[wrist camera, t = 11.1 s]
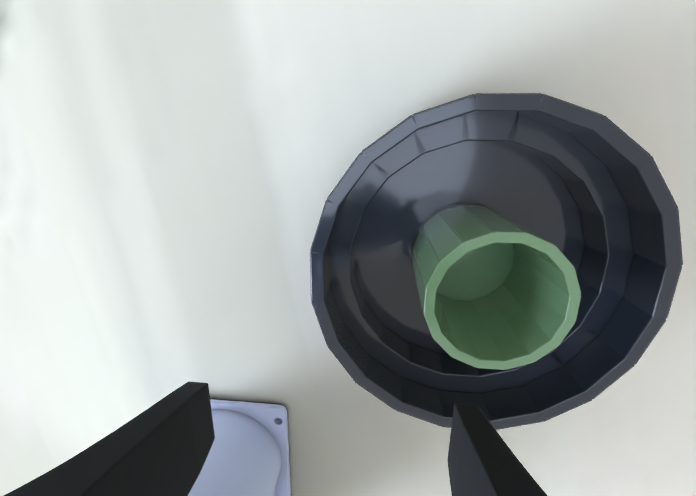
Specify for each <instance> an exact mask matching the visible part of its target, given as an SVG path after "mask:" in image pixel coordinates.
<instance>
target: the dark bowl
mask: <svg viewBox="0 0 696 496" xmlns="http://www.w3.org/2000/svg"><path fill="white" fill-rule="evenodd" d="M465 204H472V205H480V206H484V207H487V208H490V209H492V210H494V211H496V212H498V213H500V214H502V215H504V216H506V217H508V218H509V219H511V220H513V221H514V222H516V223H518V224H520V225H521V226H523V227H525V228H527V229H528V230H530V231H532V232H533V233H535V234H537V235H539V236H540V237H542V238H544V239H546V240H547V241H549V242H551V243H552V244H554V245H555V246H557V248H558V249H559V250H560V251H561V252H562V253H563V254H564V256H565V257H566V258H567V259H568V260H569V261H570V262H571V264H572V265H573V266H574V268H575V271H576V275H577V279H578V283H579V286H580V290H581V300H580V304H579V309H578V314H577V319H576V322H575V324H574V325H573V327H572V328H571V329H570V331H569V332H568V334H567V335H566V337H565V338H564V339H563V341H562V342H561V344H560V345H558V347H556V348H555V349H553V350H552V351H550V352H549V353H547V354H546V355H544V356H543V357H541V358H540V359H538V360H537V361H535V362H533V363H530V364H526V365H522V366H518V367H515V368H511V369H507V370H506V369H505V370H499V369H484V368H476V367H473V366H471V365H469V364H466V363H464V362H462V361H459V360H457V359H455V358H452V357H451V356H450V355H449V354H448V353H447V352H446V351H445V350H444V349H443V348H442V347H441V346H440V345H439V344H438V343H437V342H436V341H435V340H434V339H433V337H432V335H431V333H430V330H429V328H428V325H427V322H426V320H425V317H424V314H423V310H422V306H421V301H420V297H419V293H418V289H417V284H416V280H415V276H414V272H413V268H412V250H413V245H414V242H415V239H416V237H417V235H418V233H419V231H420V229H421V228H422V227H423V226H424V224H425V223H426V222H427V221H428V220H429V219H430V218H432V217H433V216H434V215H435V214H437V213H439V212H440V211H442V210H445V209H447V208H450V207H453V206H457V205H465ZM682 265H683V260H682V248H681V235H680V223H679V210H678V207H677V205H676V203H675V201H674V199H673V197H672V195H671V193H670V191H669V189H668V187H667V185H666V183H665V181H664V179H663V177H662V175H661V173H660V171H659V169H658V167H657V165H656V163H655V161H654V159H653V157H652V156H651V155H650V154H649V153H648V152H647V151H646V150H644V149H643V148H642V147H641V146H640V145H639V144H637V143H636V142H635V141H634V140H633V139H632V138H630V137H629V136H628V135H627V134H626V133H625V132H623V131H622V130H621V129H620V128H619V127H618V126H616V125H615V124H614V123H613V122H612V121H611V120H609V119H608V118H607V117H606V116H603V115H602V114H600V113H597V112H594V111H591V110H588V109H586V108H583V107H580V106H577V105H574V104H571V103H569V102H566V101H563V100H560V99H557V98H554V97H551V96H549V95H546V94H541V93H477V94H472V95H469V96H466V97H463V98H460V99H457V100H454V101H451V102H448V103H445V104H442V105H439V106H436V107H433V108H430V109H427V110H424V111H421V112H418V113H415V114H413V115H411V116H409V117H408V118H406V119H405V120H404V121H402V122H401V123H400V124H398V125H397V126H395V127H394V128H393V129H391V130H390V131H389V132H387V133H386V134H385V135H383V136H382V137H380V138H379V139H378V140H376V141H375V142H374V143H372V144H371V145H370V146H368V147H367V148H365V149H364V150H363V151H362V152H361V153H360V154H359V155H358V156H357V158H356V159H355V161H354V162H353V163H352V165H351V166H350V167H349V169H348V170H347V172H346V173H345V174H344V176H343V177H342V178H341V180H340V181H339V183H338V184H337V185H336V187H335V188H334V190H333V191H332V192H331V194H330V195H329V196H328V198H327V200H326V202H325V205H324V208H323V211H322V215H321V218H320V221H319V224H318V227H317V230H316V234H315V237H314V240H313V243H312V246H311V251H310V272H311V300H312V301H311V302H312V305H313V308H314V311H315V313H316V316H317V319H318V322H319V324H320V327H321V330H322V333H323V335H324V338H325V341H326V344H327V346H328V348H329V349H330V350H331V351H332V353H333V354H334V355H335V357H336V358H337V359H338V360H339V362H340V363H341V364H342V365H343V367H344V368H345V369H346V371H347V372H348V373H349V374H350V376H351V377H352V378H353V380H354V381H355V382H356V383H357V384H358V385H360V386H361V387H363V388H364V389H365V390H367V391H368V392H370V393H371V394H373V395H374V396H375V397H377V398H378V399H380V400H381V401H383V402H384V403H385V404H387V405H388V406H390V407H391V408H393V409H394V410H396V411H398V412H401V413H404V414H407V415H410V416H413V417H416V418H418V419H421V420H424V421H427V422H430V423H433V424H436V425H438V426H442V427H451V428H452V419H453V410H454V403H459V404H472V405H477V406H478V407H479V408H480V409H481V410H482V412H483V413H484V415H485V416H486V417H487V419H488V420H489V422H490V423H491V424H492V426H493V427H494V429H495V430H498V429H504V428H510V427H516V426H521V425H527V424H533V423H539V422H542V421H543V422H544V421H547V420H549V419H551V418H553V417H556V416H558V415H560V414H562V413H565V412H567V411H569V410H571V409H574V408H576V407H578V406H580V405H583V404H585V403H587V402H589V401H592V399H594V398H595V397H597V396H598V395H599V394H600V393H602V392H603V391H604V390H605V389H606V388H608V387H609V386H610V385H611V384H613V383H614V382H615V381H616V380H618V379H619V378H620V377H621V376H622V375H624V374H625V373H626V372H627V371H629V370H630V369H631V368H632V367H634V364H636V363H637V362H638V360H639V359H640V358H641V356H642V355H643V353H644V352H645V350H646V349H647V347H648V346H649V345H650V343H651V342H652V340H653V339H654V337H655V336H656V334H657V333H658V331H659V330H660V329H661V327H662V326H663V324H664V323H665V321H666V319H667V317H668V314H669V310H670V307H671V303H672V300H673V297H674V293H675V290H676V286H677V283H678V279H679V276H680V272H681V269H682Z"/></svg>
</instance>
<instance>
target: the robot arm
mask: <svg viewBox="0 0 696 496" xmlns="http://www.w3.org/2000/svg"><path fill="white" fill-rule="evenodd" d="M277 418H280V419H281V420H278V419H277ZM448 468H449V476H450V484H451V491H452V496H547V495H546V493H545V492H544V491H543V490H542V489H541V487H540V486H539V485H538V484H537V483H536V481H535V480H534V479H533V478H532V476H531V475H530V474H529V473H528V472H527V470H526V469H525V468H524V467H523V465H522V464H521V463H520V462H519V460H518V459H517V458H516V456H515V455H514V454H513V453H512V451H511V450H510V449H509V447H508V446H507V445H506V443H505V442H504V441H503V439H502V438H501V437H500V435H499V434H498V433H497V431H496V430H495V429H494V427H493V426H492V424H491V423H490V422H489V420H488V419H487V417H486V416H485V415H484V413H483V412H482V410H481V409H480V408H479V407H478V406H477V405H472V404H459V403H454V410H453V419H452V428H451V436H450V445H449V453H448ZM4 496H291V487H290V465H289V444H288V422H287V410H286V408H285V407H284V406H282V405H278V404H265V403H252V402H239V401H226V400H213V399H210V395H209V388H208V383H198V382H188V383H186V384H184V385H183V386H181V387H179V388H178V389H176V390H175V391H173V392H172V393H170V394H169V395H167V396H166V397H165V398H163V399H162V400H160V401H159V402H157V403H156V404H154V405H153V406H151V407H150V408H148V409H147V410H146V411H144V412H143V413H141V414H140V415H138V416H137V417H135V418H134V419H132V420H131V421H129V422H128V423H126V424H125V425H123V426H122V427H120V428H119V429H117V430H116V431H114V432H113V433H111V434H109V435H108V436H106V437H105V438H103V439H101V440H100V441H98V442H97V443H95V444H94V445H92V446H90V447H89V448H87V449H86V450H84V451H82V452H81V453H79V454H78V455H76V456H74V457H73V458H71V459H69V460H68V461H66V462H64V463H63V464H61V465H59V466H57V467H56V468H54V469H52V470H51V471H49V472H47V473H45V474H43V475H42V476H40V477H38V478H36V479H34V480H32V481H31V482H29V483H27V484H25V485H23V486H21V487H20V488H18V489H16V490H14V491H12V492H10V493H8V494H6V495H4Z"/></svg>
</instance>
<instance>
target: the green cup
mask: <svg viewBox="0 0 696 496" xmlns="http://www.w3.org/2000/svg"><path fill="white" fill-rule="evenodd" d="M412 268H413V272H414V276H415V280H416V284H417V289H418V293H419V297H420V301H421V306H422V310H423V314H424V317H425V320H426V322H427V325H428V328H429V330H430V333H431V335H432V337H433V339H434V340H435V341H436V342H437V343H438V344H439V345H440V346H441V347H442V348H443V349H444V350H445V351H446V352H447V353H448V354H449V355H450V356H451V357H452V358H455V359H457V360H459V361H462V362H464V363H466V364H469V365H471V366H473V367H476V368H484V369H499V370H505V369H506V370H507V369H511V368H515V367H518V366H522V365H526V364H530V363H533V362H535V361H537V360H538V359H540V358H541V357H543V356H544V355H546V354H547V353H549V352H550V351H552V350H553V349H555V348H556V347H558V345H560V344H561V342H562V341H563V339H564V338H565V337H566V335H567V334H568V332H569V331H570V329H571V328H572V327H573V325H574V324H575V322H576V319H577V314H578V309H579V304H580V300H581V290H580V286H579V283H578V279H577V275H576V271H575V268H574V266H573V265H572V264H571V262H570V261H569V260H568V259H567V258H566V257H565V256H564V254H563V253H562V252H561V251H560V250H559V249H558V248H557V246H555V245H554V244H552V243H551V242H549V241H547V240H546V239H544V238H542V237H540V236H539V235H537V234H535V233H533V232H532V231H530V230H528V229H527V228H525V227H523V226H521V225H520V224H518V223H516V222H514V221H513V220H511V219H509V218H508V217H506V216H504V215H502V214H500V213H498V212H496V211H494V210H492V209H490V208H487V207H484V206H480V205H472V204H465V205H457V206H453V207H450V208H447V209H445V210H442V211H440V212H439V213H437V214H435V215H434V216H433V217H432V218H430V219H429V220H428V221H427V222H426V223H425V224H424V226H423V227H422V228H421V229H420V231H419V233H418V235H417V237H416V239H415V242H414V245H413V250H412Z"/></svg>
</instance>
